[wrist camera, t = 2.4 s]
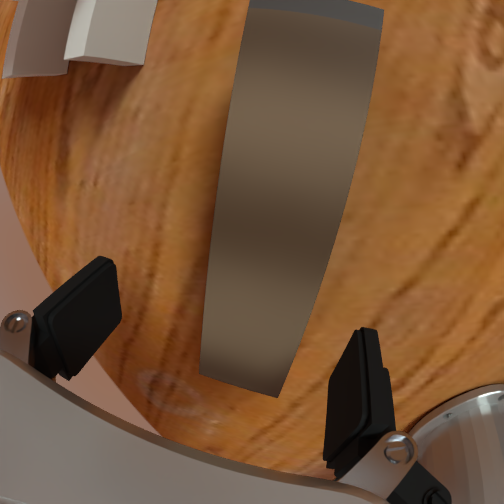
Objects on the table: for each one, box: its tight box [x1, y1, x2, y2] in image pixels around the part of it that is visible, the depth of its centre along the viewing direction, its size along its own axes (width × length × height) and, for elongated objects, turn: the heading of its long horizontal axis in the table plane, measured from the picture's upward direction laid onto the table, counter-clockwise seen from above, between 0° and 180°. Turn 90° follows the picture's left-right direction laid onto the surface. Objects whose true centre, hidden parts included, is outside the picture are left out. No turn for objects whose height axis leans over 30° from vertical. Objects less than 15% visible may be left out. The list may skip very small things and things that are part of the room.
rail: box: [199, 0, 384, 398], centre depth 12 cm, size 16×4×6 cm, turn 170°
